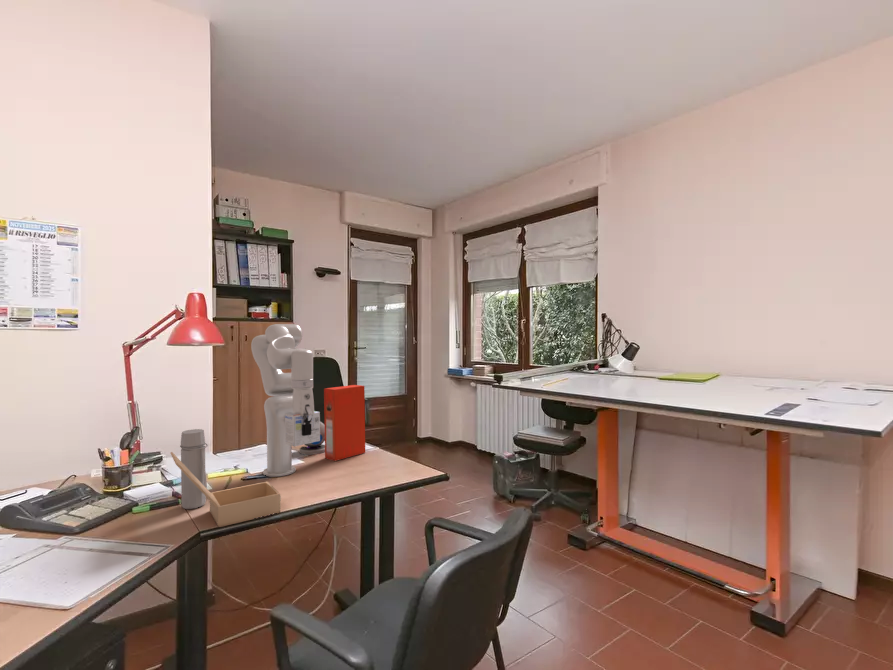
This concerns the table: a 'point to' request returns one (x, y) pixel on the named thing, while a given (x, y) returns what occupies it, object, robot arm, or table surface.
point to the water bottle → (193, 467)
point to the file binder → (344, 421)
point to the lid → (193, 479)
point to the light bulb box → (295, 429)
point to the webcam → (315, 444)
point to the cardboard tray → (244, 503)
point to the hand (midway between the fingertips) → (302, 432)
